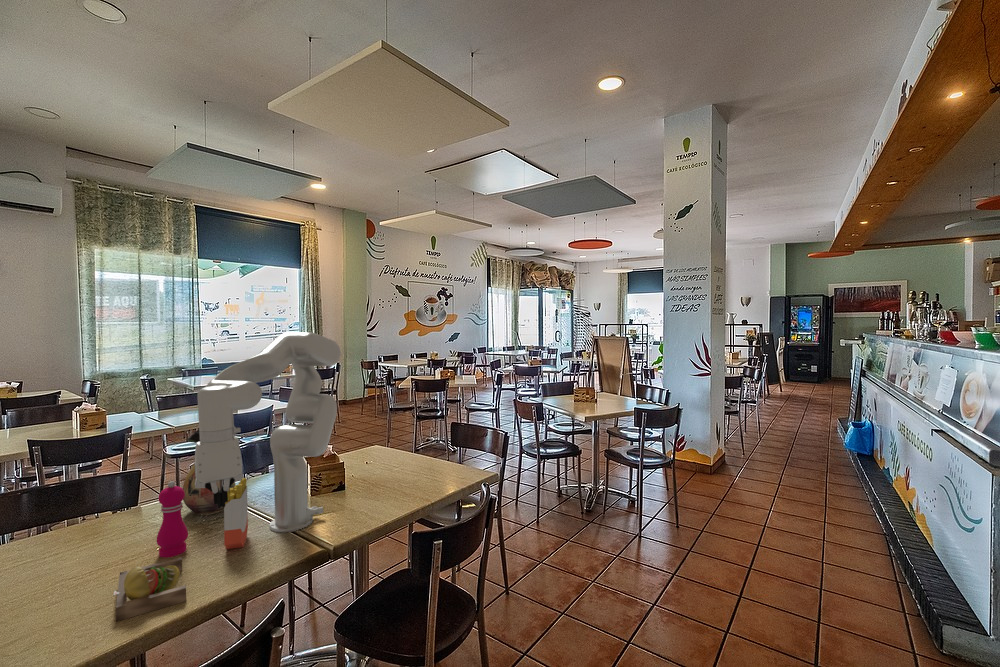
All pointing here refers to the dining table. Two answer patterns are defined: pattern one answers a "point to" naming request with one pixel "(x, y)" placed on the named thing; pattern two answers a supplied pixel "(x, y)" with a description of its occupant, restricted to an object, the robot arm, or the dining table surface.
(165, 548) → the pepper mill
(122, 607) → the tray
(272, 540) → the dining table surface
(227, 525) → the french fries container
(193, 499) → the ceramic jug
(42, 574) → the dining table surface
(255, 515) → the dining table surface
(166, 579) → the hamburger
